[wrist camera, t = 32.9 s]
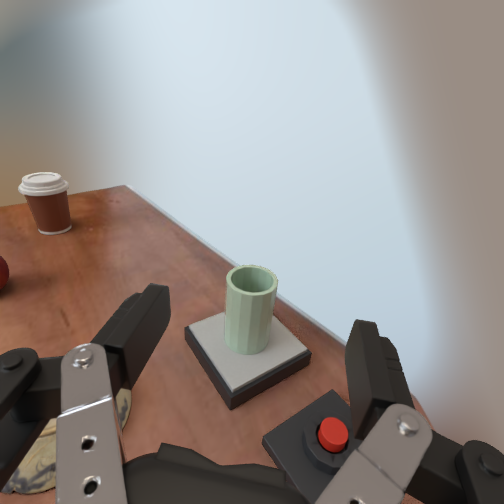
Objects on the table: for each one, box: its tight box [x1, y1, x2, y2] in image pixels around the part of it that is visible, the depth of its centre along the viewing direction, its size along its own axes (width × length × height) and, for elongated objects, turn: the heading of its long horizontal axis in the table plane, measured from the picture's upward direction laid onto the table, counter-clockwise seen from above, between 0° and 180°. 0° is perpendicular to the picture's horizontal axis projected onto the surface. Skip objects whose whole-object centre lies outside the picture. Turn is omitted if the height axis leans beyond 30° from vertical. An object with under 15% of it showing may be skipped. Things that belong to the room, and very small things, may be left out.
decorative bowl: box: [1, 388, 131, 494], centre depth 34 cm, size 15×4×15 cm
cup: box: [224, 265, 278, 355], centre depth 40 cm, size 6×6×10 cm
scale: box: [185, 312, 312, 410], centre depth 44 cm, size 13×13×3 cm
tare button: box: [318, 417, 348, 453], centre depth 32 cm, size 3×3×2 cm
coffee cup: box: [18, 172, 72, 235], centre depth 67 cm, size 9×9×12 cm
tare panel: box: [262, 389, 364, 504], centre depth 33 cm, size 11×9×3 cm
